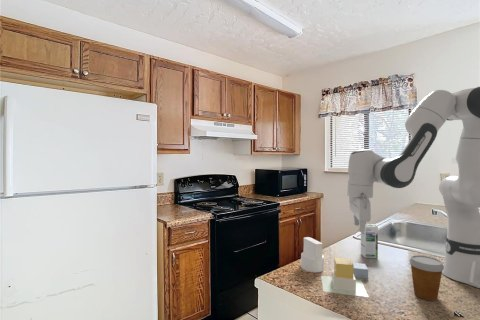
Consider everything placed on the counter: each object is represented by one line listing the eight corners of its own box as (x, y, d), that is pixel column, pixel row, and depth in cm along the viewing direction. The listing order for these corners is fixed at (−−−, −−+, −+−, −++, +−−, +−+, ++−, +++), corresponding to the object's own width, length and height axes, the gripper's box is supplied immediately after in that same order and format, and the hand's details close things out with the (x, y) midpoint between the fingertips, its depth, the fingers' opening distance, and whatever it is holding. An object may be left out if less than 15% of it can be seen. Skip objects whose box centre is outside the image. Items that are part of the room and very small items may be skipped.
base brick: (352, 282, 95) (352, 271, 95) (355, 291, 88) (356, 279, 88) (331, 279, 97) (331, 268, 97) (333, 289, 90) (333, 277, 90)
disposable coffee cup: (442, 307, 82) (443, 268, 81) (406, 296, 88) (407, 260, 88) (444, 295, 89) (445, 259, 89) (410, 285, 95) (411, 252, 95)
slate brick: (364, 275, 104) (365, 263, 103) (368, 281, 98) (368, 269, 98) (349, 273, 105) (349, 262, 105) (352, 279, 100) (352, 267, 99)
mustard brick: (350, 271, 94) (350, 259, 94) (353, 278, 89) (353, 265, 89) (334, 270, 96) (334, 257, 96) (335, 276, 90) (336, 263, 90)
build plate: (361, 283, 97) (361, 280, 97) (368, 300, 85) (369, 297, 85) (321, 278, 100) (321, 275, 100) (323, 294, 88) (323, 291, 88)
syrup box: (364, 258, 121) (365, 226, 121) (360, 253, 127) (360, 223, 127) (377, 258, 120) (378, 226, 120) (372, 254, 126) (373, 223, 126)
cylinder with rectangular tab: (296, 267, 110) (297, 238, 110) (314, 264, 113) (315, 236, 113) (309, 276, 102) (309, 245, 102) (328, 273, 105) (329, 242, 105)
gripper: (376, 196, 90) (375, 236, 90) (363, 189, 110) (362, 222, 110) (356, 195, 92) (355, 235, 92) (347, 188, 112) (346, 221, 112)
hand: (358, 228), depth 101 cm, fingers open, 8 cm apart
